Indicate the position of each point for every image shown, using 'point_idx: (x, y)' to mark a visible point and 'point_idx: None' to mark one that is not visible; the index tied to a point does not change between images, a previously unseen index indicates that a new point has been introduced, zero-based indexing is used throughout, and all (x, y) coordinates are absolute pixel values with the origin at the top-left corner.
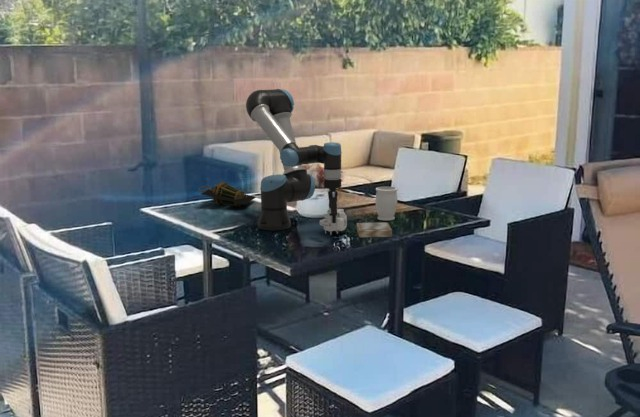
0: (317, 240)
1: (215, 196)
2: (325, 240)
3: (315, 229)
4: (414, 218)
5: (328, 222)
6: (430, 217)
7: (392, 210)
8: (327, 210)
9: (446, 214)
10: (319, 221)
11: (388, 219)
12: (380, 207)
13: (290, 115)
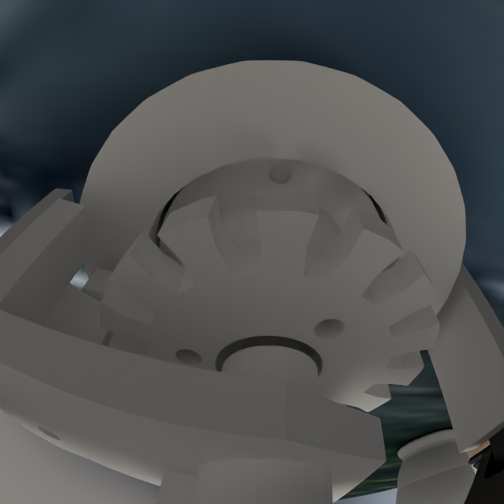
0: (21, 40)
1: None
2: (17, 107)
3: (469, 83)
4: (381, 472)
5: (52, 213)
6: (368, 483)
7: (397, 486)
8: (291, 440)
9: (373, 490)
10: (317, 65)
11: (400, 451)
12: (427, 483)
13: None
